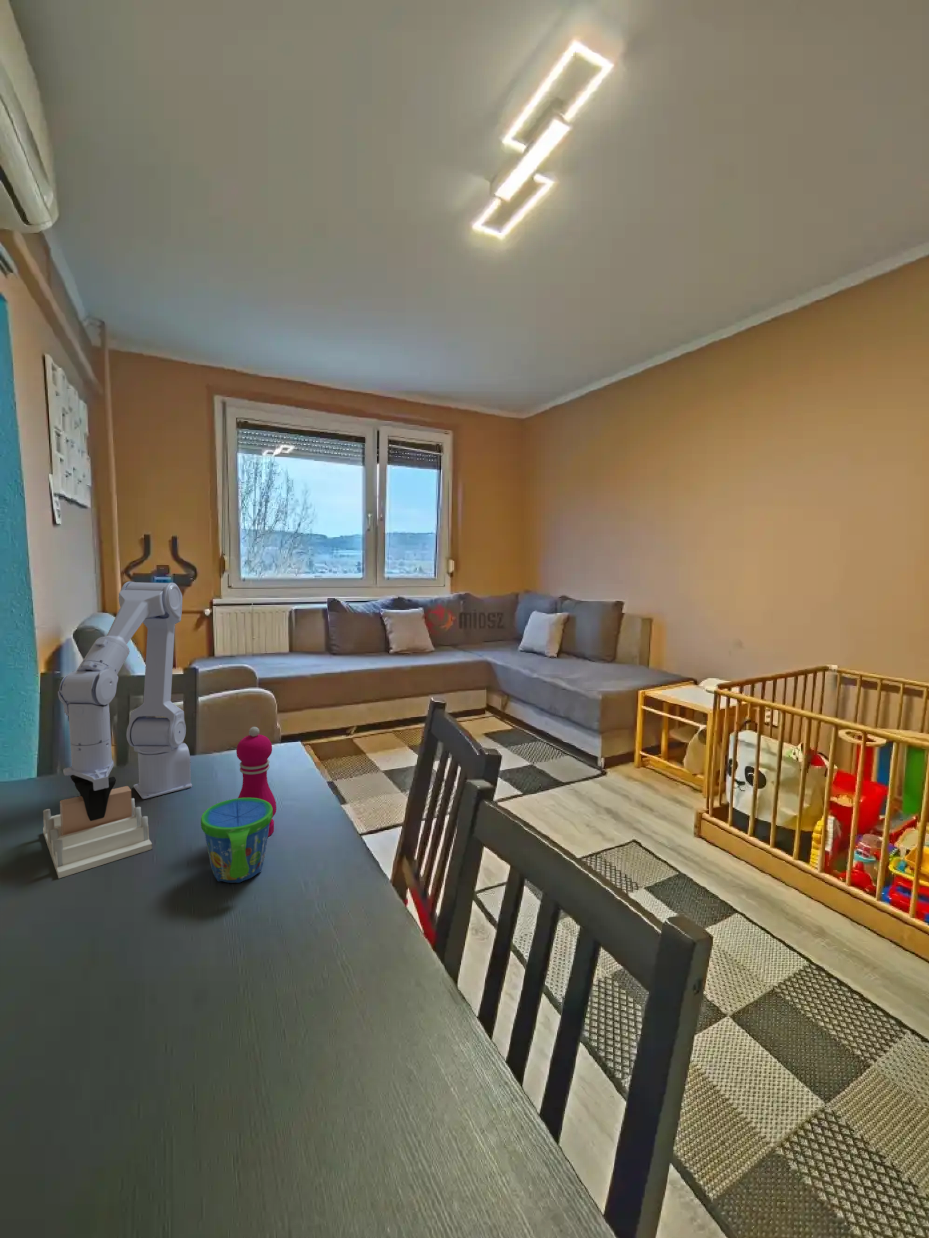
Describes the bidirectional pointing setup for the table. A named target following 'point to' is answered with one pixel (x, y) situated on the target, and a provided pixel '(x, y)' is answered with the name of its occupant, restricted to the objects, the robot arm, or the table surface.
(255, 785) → the pepper mill
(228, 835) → the snack cup
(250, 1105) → the table surface
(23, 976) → the table surface
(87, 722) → the robot arm
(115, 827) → the dish rack
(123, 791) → the tile
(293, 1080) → the table surface
